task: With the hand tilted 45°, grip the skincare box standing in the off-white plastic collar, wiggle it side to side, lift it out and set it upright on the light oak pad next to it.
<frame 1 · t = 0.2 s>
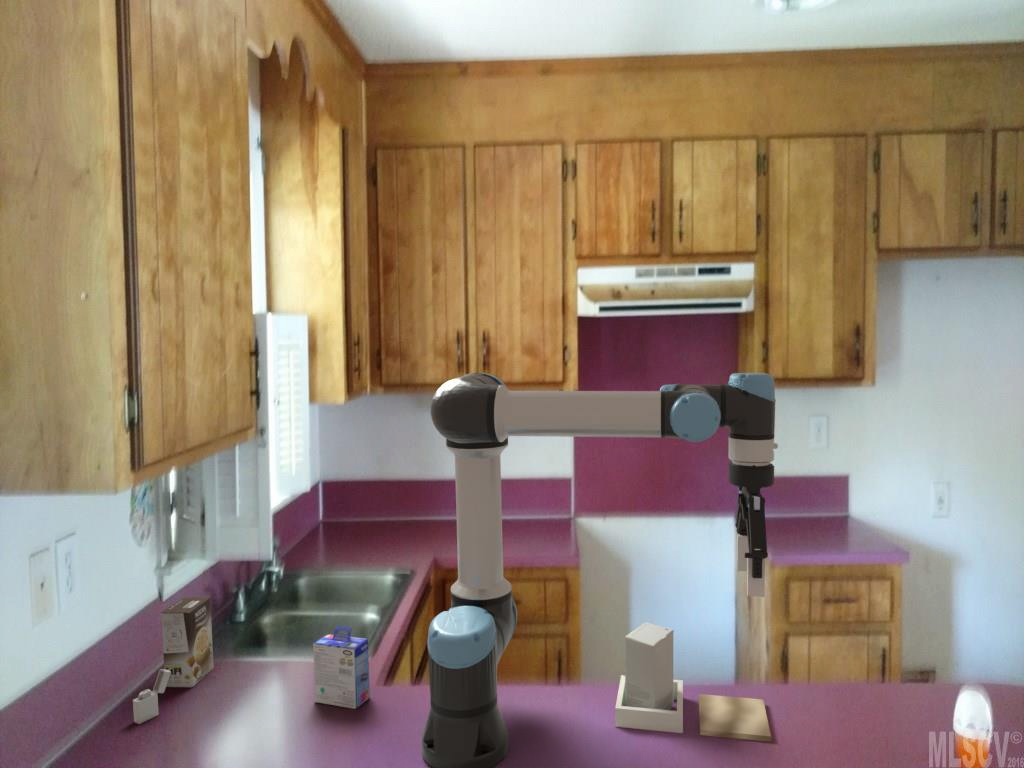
hand: (749, 582, 130), 28 cm above the counter, tool pointing down, fingers open, 13 cm apart
coffee box: (190, 678, 159), on the counter
lighter: (153, 715, 144), on the counter
holder collar: (650, 711, 141), on the counter
ink cartridge box: (343, 701, 148), on the counter
oak pad: (732, 719, 137), on the counter
skincare box: (650, 712, 141), resting in holder collar
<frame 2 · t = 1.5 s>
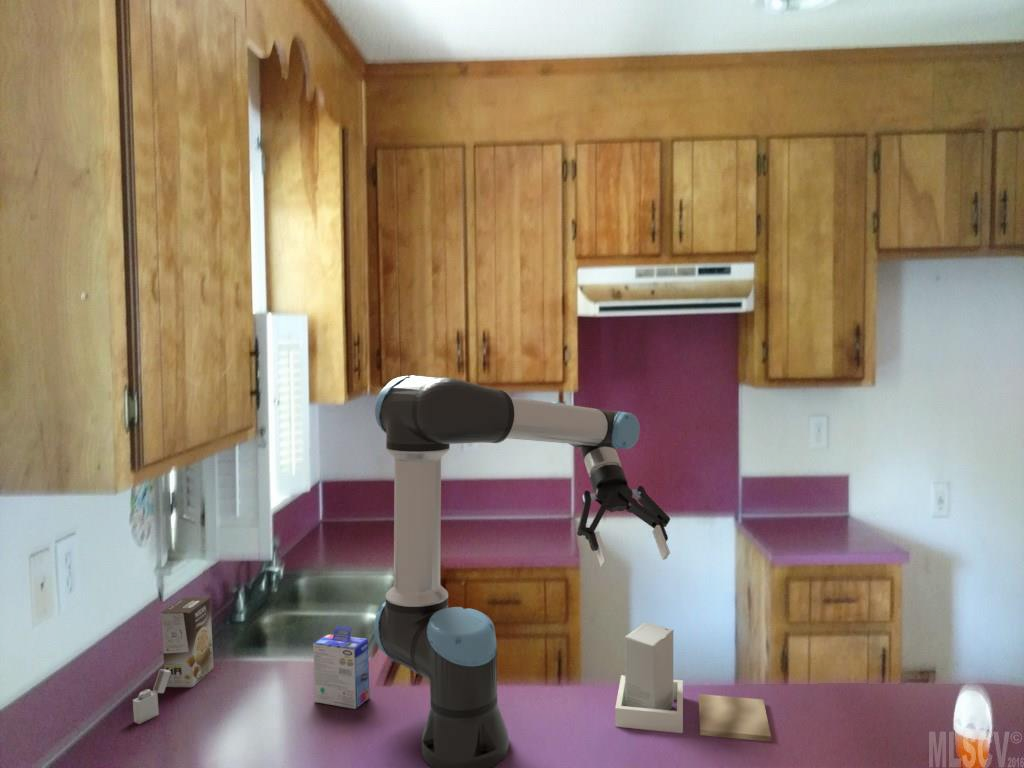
hand: (635, 560, 150), 26 cm above the counter, tool tilted 45°, fingers open, 13 cm apart
nothing on the counter moved.
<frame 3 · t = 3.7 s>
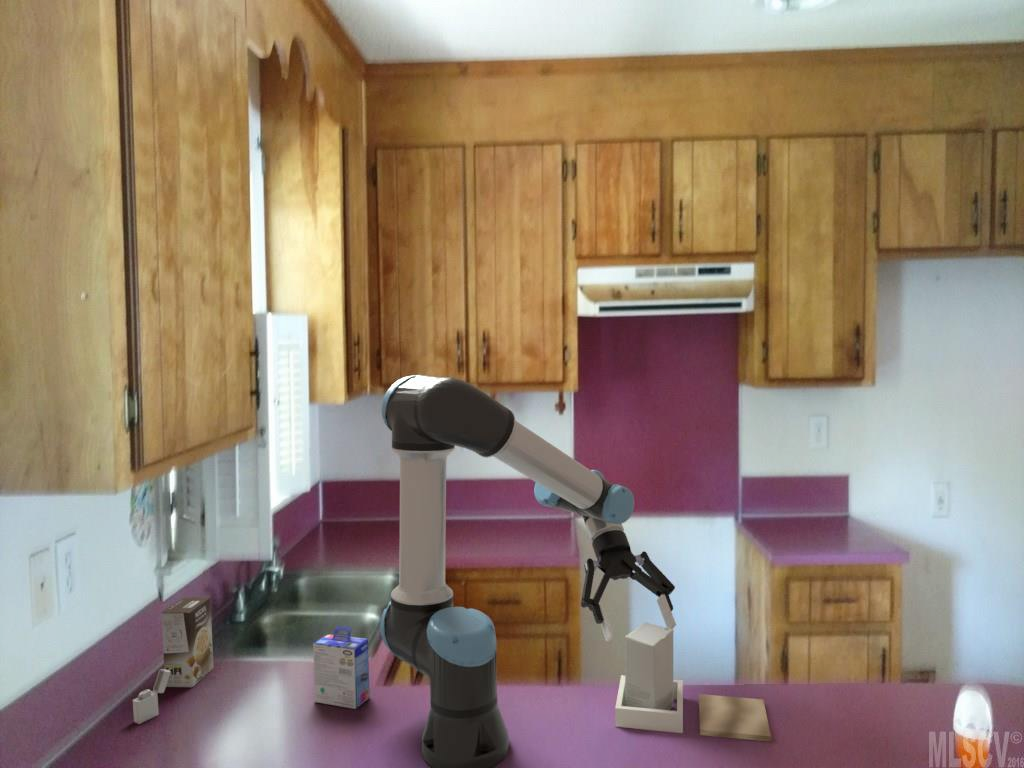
hand: (641, 633, 146), 13 cm above the counter, tool tilted 45°, fingers open, 13 cm apart
nothing on the counter moved.
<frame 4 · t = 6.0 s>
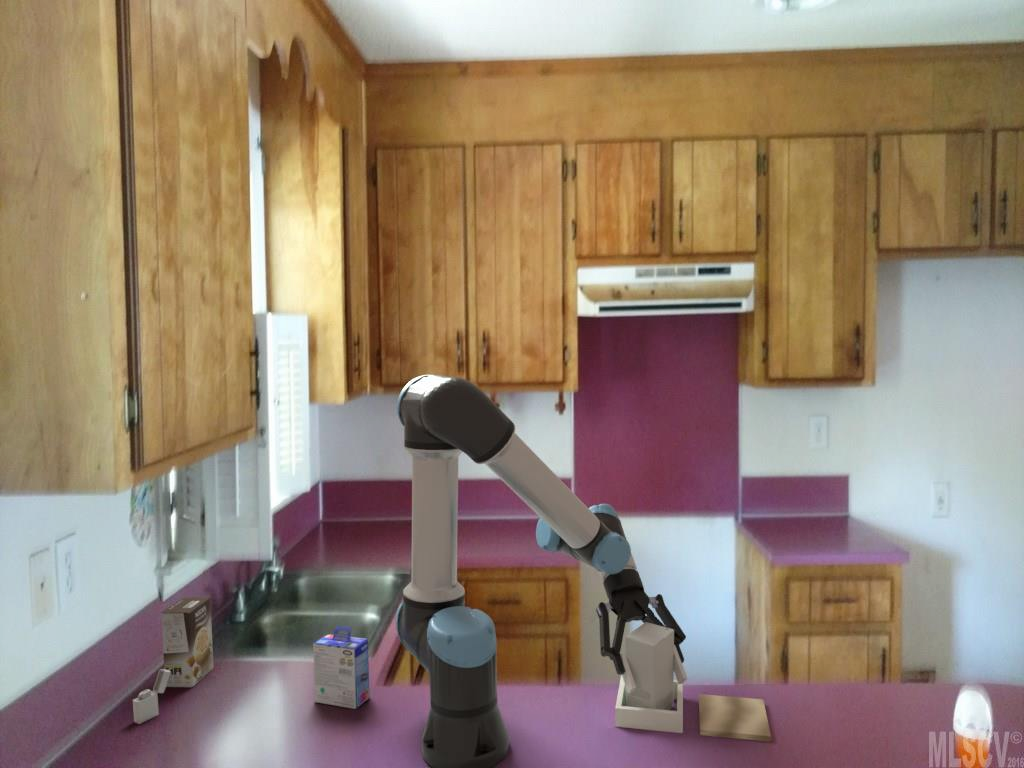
hand: (657, 686, 137), 6 cm above the counter, tool tilted 45°, fingers closed on skincare box, 10 cm apart
skincare box: (650, 712, 141), resting in holder collar, touching gripper
everything else where it was.
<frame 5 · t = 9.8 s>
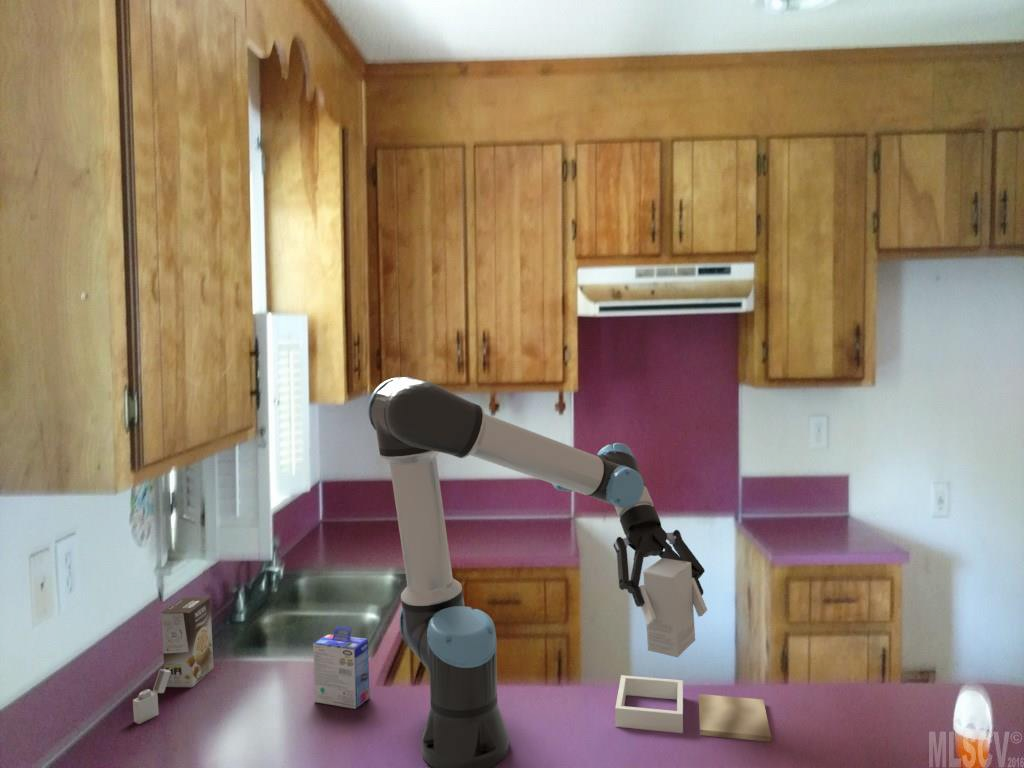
hand: (677, 617, 136), 19 cm above the counter, tool tilted 45°, fingers closed on skincare box, 10 cm apart
skincare box: (672, 647, 140), point 12 cm above the counter, touching gripper
everything else where it was.
when the fingers open (9 cm above the counter, at t = 13.6 s): skincare box drops 1 cm, resting on oak pad.
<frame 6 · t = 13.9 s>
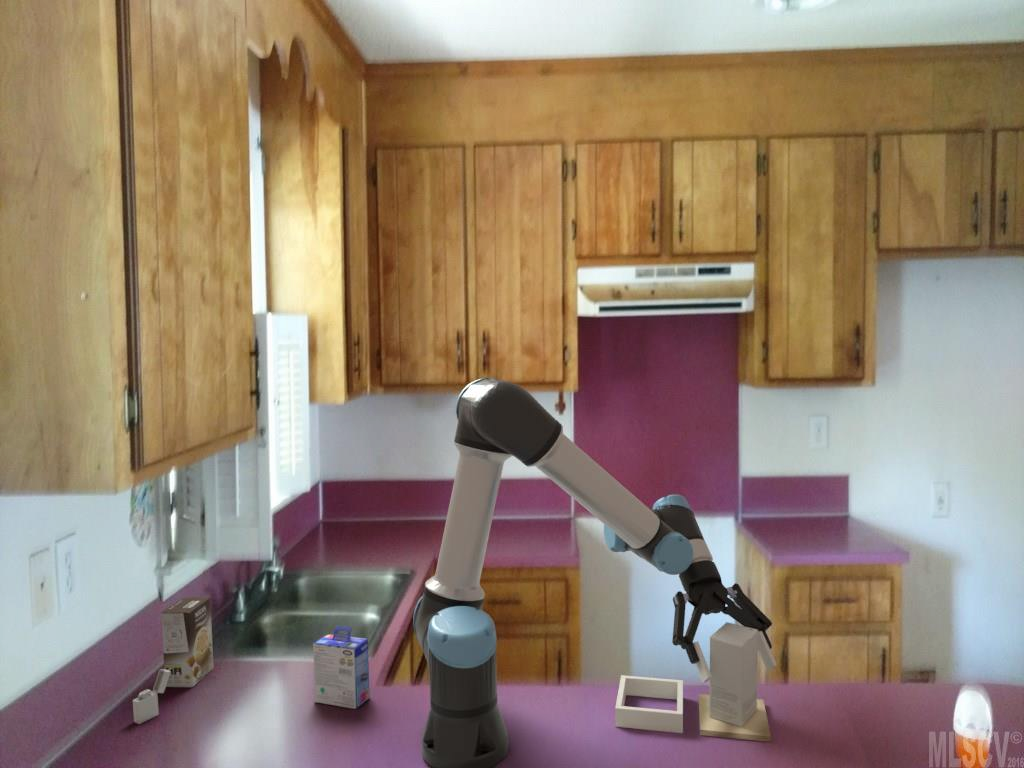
hand: (740, 674, 134), 10 cm above the counter, tool tilted 45°, fingers open, 13 cm apart
skincare box: (734, 715, 137), point 1 cm above the counter, touching oak pad
everything else where it was.
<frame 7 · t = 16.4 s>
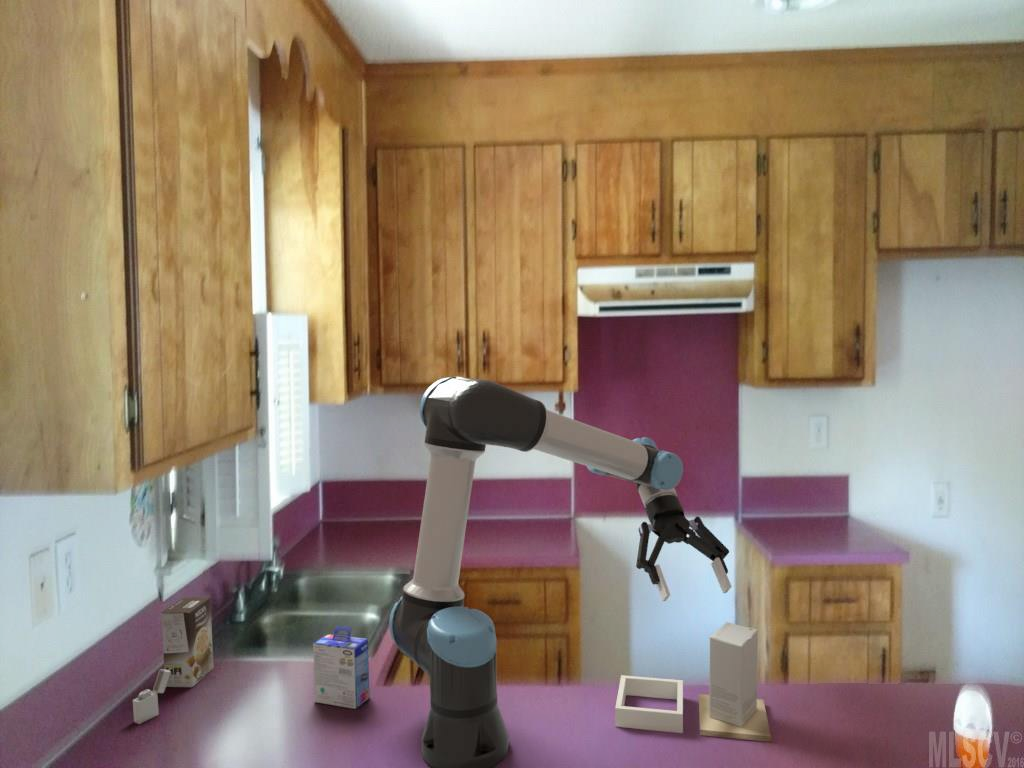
hand: (697, 594, 147), 20 cm above the counter, tool tilted 45°, fingers open, 13 cm apart
nothing on the counter moved.
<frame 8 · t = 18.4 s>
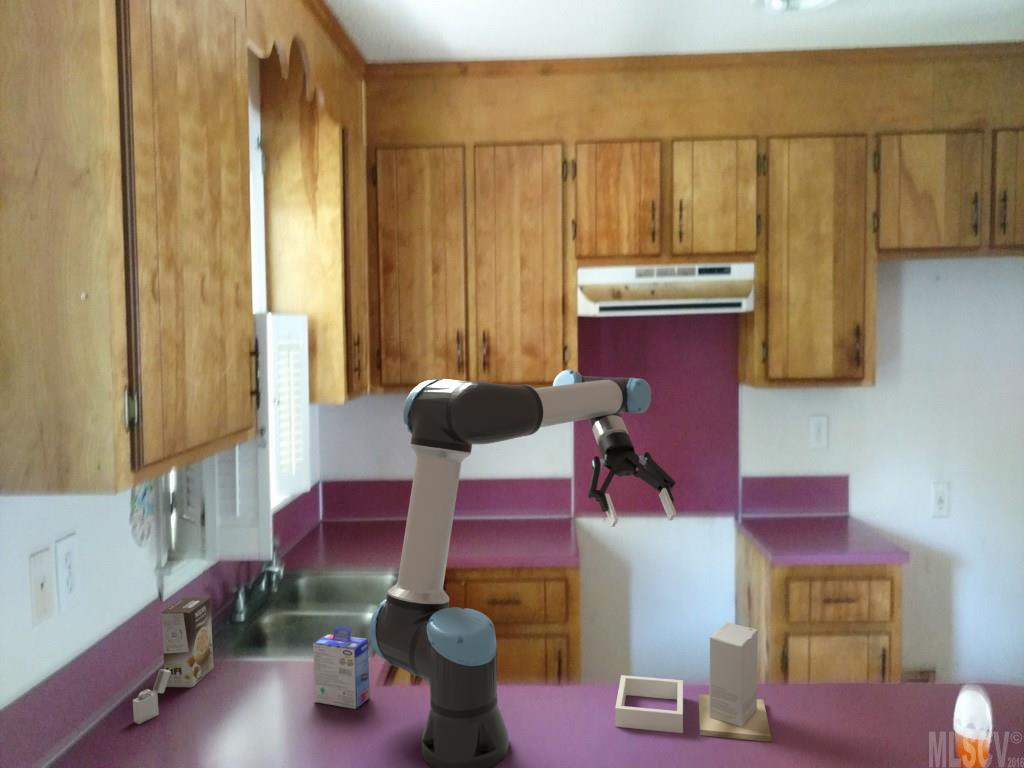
hand: (644, 520, 157), 32 cm above the counter, tool tilted 45°, fingers open, 13 cm apart
nothing on the counter moved.
at the end: skincare box inside the target area on the oak pad (0.2 cm from its centre), point 0.8 cm above the oak pad's base; skincare box tilted 0°; the gripper is holding nothing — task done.
